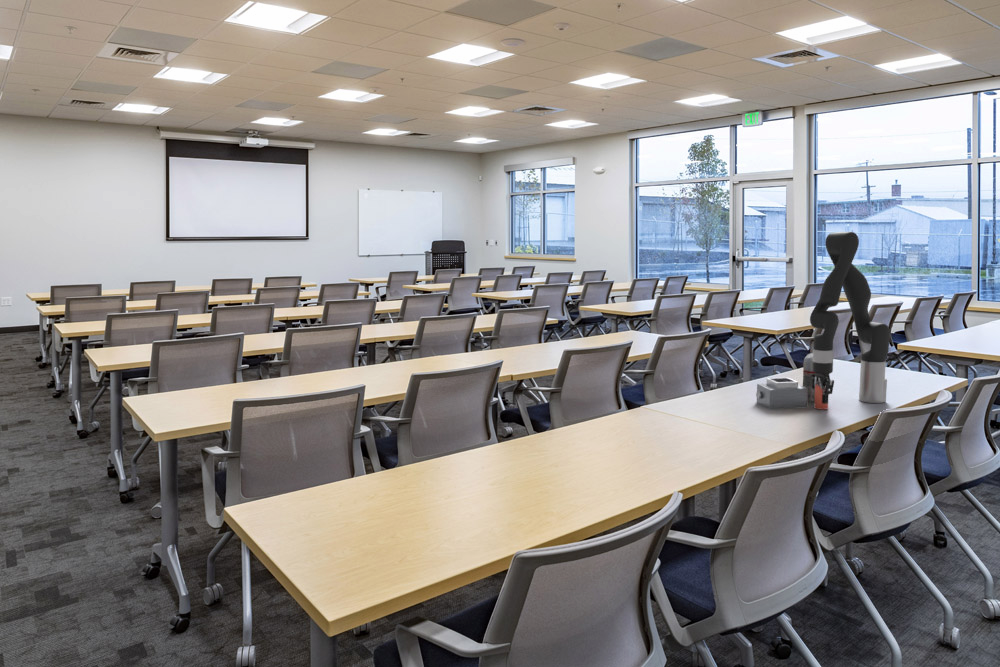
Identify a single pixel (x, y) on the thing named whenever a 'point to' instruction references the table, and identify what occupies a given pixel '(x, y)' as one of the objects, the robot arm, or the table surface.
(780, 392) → the gearbox
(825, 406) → the oil can
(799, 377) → the table surface
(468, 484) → the table surface
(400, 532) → the table surface
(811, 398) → the spray can
